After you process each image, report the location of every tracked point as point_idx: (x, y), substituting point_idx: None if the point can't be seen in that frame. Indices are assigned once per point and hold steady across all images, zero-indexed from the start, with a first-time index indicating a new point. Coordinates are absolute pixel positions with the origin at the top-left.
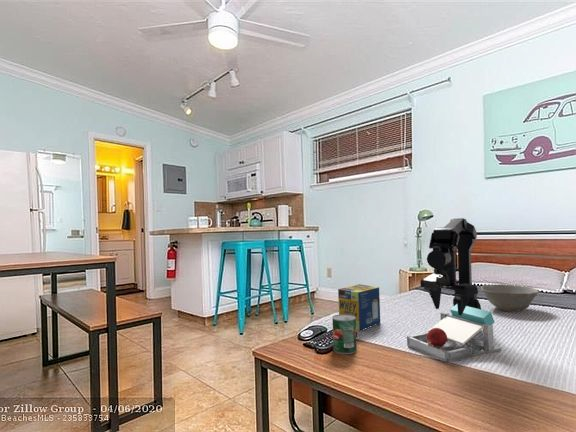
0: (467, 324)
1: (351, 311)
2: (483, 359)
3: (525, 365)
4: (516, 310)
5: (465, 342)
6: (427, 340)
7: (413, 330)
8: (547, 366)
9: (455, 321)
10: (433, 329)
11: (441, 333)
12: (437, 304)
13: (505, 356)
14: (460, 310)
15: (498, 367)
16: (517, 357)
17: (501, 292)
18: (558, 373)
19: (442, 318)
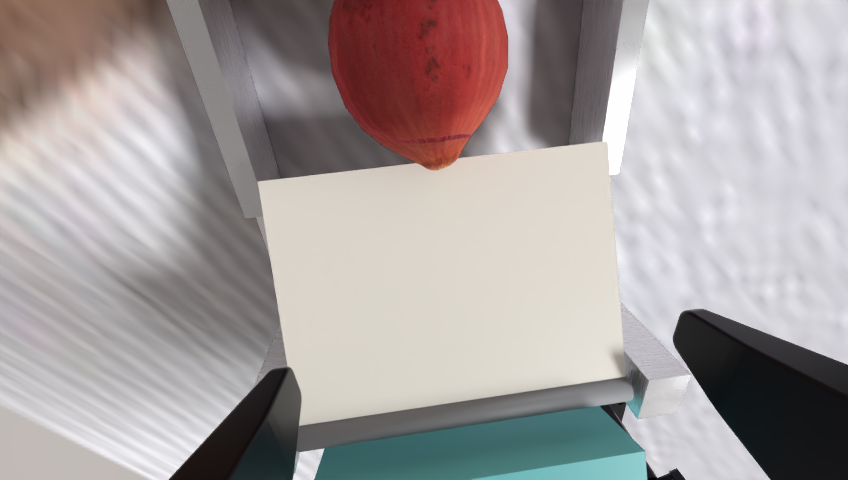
0: (406, 383)
1: None
2: (226, 230)
3: (126, 342)
4: None
5: (267, 211)
6: (576, 128)
7: (759, 195)
8: (111, 400)
9: (513, 362)
10: (434, 9)
11: (346, 53)
12: (737, 378)
13: (246, 343)
14: (212, 443)
15: (102, 219)
16: (225, 374)
17: None
18: (29, 386)
19: (643, 344)
